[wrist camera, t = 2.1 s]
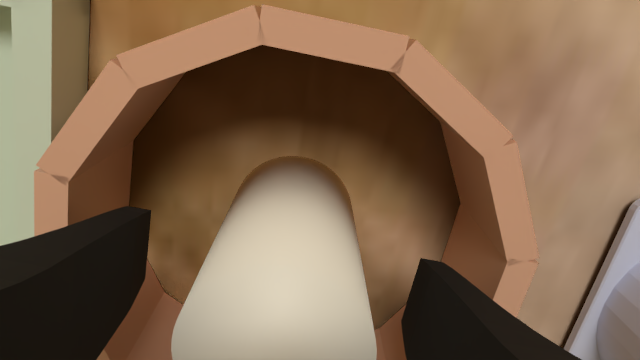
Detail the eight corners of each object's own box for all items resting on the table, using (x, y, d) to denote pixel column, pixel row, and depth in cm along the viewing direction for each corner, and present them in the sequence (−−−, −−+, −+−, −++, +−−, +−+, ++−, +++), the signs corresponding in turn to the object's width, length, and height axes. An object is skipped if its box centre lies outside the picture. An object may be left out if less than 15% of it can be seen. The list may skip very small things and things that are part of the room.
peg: (363, 168, 15) (399, 286, 8) (337, 272, 16) (351, 445, 10) (243, 145, 15) (181, 247, 8) (227, 253, 16) (163, 417, 9)
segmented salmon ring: (533, 64, 14) (614, 80, 10) (421, 384, 18) (448, 481, 14) (116, -26, 13) (32, -45, 9) (98, 332, 17) (35, 421, 13)
